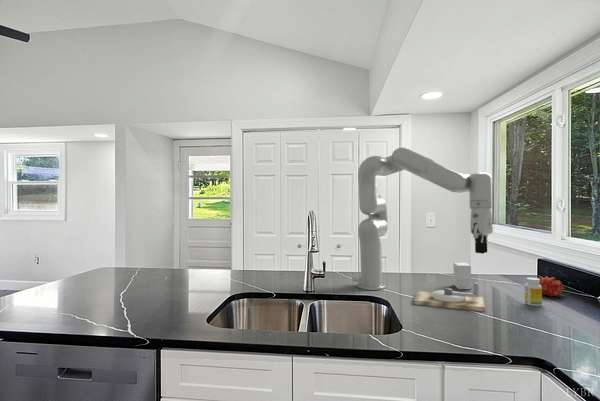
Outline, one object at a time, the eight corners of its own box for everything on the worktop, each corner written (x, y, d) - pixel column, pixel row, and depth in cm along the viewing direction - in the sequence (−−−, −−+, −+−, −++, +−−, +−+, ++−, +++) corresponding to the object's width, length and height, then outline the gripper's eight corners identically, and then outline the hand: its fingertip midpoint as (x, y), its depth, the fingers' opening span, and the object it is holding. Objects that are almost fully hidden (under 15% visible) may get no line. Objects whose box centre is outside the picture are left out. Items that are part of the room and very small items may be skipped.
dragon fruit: (530, 298, 142) (561, 303, 141) (542, 290, 135) (574, 295, 134) (525, 279, 147) (555, 283, 146) (537, 270, 140) (568, 275, 139)
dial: (430, 300, 131) (430, 283, 131) (432, 292, 142) (432, 276, 142) (479, 305, 124) (479, 287, 124) (478, 296, 135) (477, 280, 135)
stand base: (413, 304, 133) (413, 299, 133) (417, 294, 145) (417, 290, 145) (484, 311, 122) (484, 306, 122) (482, 300, 135) (482, 296, 135)
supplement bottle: (521, 303, 131) (521, 278, 131) (530, 301, 133) (529, 276, 133) (536, 307, 126) (536, 280, 126) (545, 305, 129) (544, 279, 129)
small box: (471, 289, 152) (471, 265, 152) (457, 289, 153) (457, 265, 153) (466, 285, 160) (466, 262, 160) (453, 284, 161) (453, 262, 161)
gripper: (482, 205, 126) (483, 256, 126) (498, 204, 136) (499, 251, 136) (461, 205, 131) (462, 254, 131) (478, 204, 142) (479, 249, 142)
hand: (481, 252), depth 134 cm, fingers closed
